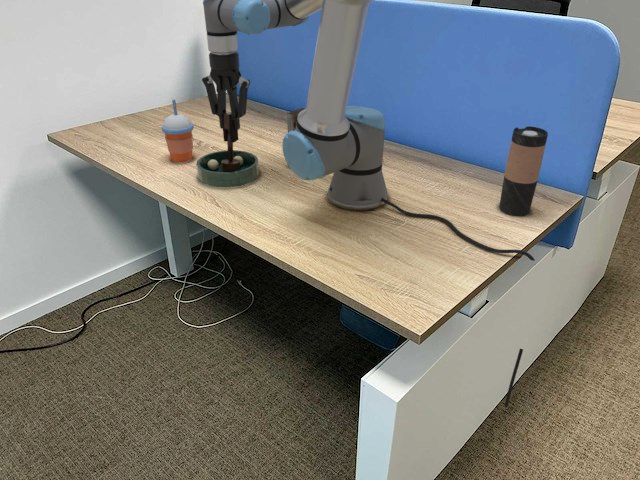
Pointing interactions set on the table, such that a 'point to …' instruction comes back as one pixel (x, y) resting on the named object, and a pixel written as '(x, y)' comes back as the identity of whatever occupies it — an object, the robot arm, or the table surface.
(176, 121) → the cup with straw
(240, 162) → the dumpling
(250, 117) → the table surface
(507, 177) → the travel mug
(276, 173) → the table surface
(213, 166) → the dumpling
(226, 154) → the bowl
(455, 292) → the table surface
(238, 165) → the brown handled stamp
